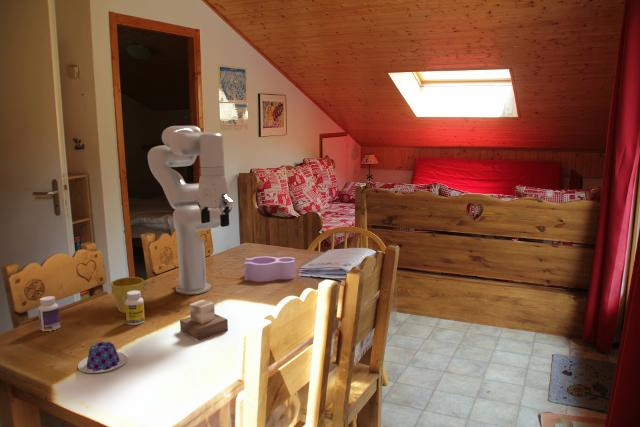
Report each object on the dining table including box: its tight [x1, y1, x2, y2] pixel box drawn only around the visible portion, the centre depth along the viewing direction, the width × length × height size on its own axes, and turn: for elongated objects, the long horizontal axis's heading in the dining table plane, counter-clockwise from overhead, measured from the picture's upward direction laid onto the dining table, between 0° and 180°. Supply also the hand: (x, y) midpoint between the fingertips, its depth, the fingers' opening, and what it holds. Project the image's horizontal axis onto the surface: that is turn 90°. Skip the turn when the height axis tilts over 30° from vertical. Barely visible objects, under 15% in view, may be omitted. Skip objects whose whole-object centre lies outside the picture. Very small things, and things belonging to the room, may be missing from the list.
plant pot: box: [110, 276, 145, 314], centre depth 176 cm, size 10×10×10 cm
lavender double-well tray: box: [243, 255, 297, 283], centre depth 211 cm, size 20×12×7 cm, turn 93°
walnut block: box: [179, 313, 229, 341], centre depth 158 cm, size 10×10×4 cm
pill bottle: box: [37, 295, 61, 332], centre depth 160 cm, size 5×5×10 cm
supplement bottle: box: [125, 290, 145, 326], centre depth 165 cm, size 5×5×10 cm
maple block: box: [189, 299, 216, 324], centre depth 157 cm, size 5×5×5 cm
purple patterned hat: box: [77, 341, 128, 374], centre depth 137 cm, size 12×12×5 cm
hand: (215, 224), depth 173 cm, fingers open, 9 cm apart
